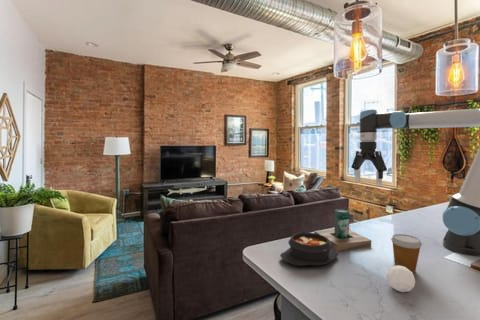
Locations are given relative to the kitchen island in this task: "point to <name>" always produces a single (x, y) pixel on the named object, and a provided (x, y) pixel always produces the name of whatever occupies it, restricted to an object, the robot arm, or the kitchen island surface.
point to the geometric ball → (400, 278)
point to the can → (341, 224)
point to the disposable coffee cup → (406, 250)
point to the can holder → (345, 240)
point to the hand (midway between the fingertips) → (367, 183)
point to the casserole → (309, 250)
